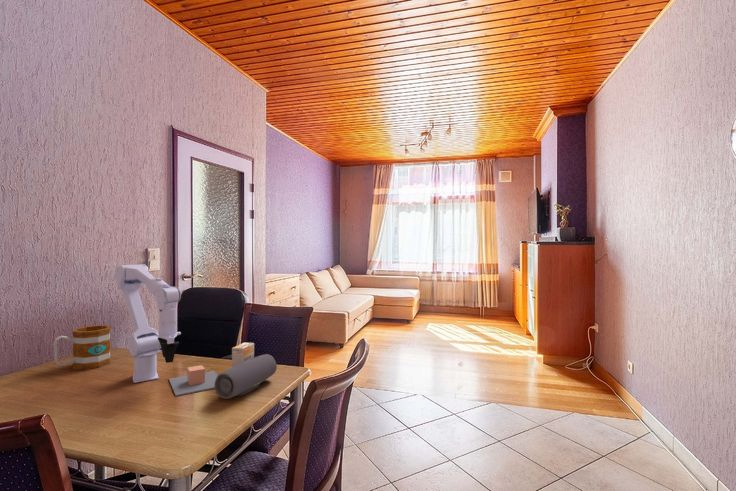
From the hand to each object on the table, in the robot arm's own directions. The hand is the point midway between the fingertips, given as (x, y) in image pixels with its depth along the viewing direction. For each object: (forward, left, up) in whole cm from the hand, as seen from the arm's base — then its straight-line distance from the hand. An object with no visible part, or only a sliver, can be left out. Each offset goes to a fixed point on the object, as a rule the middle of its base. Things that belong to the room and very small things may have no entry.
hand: (167, 359), depth 134 cm
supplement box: (+9, +24, -10) cm, 27 cm away
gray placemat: (+3, +9, -9) cm, 13 cm away
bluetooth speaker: (+19, +22, -10) cm, 31 cm away
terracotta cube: (+3, +9, -9) cm, 13 cm away
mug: (-42, -26, -10) cm, 50 cm away
